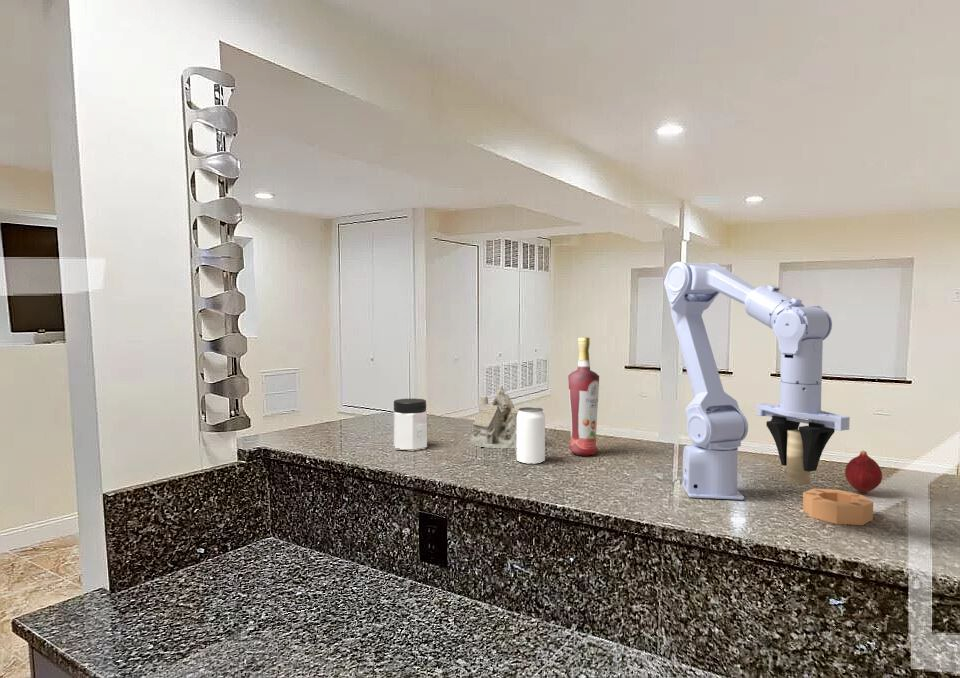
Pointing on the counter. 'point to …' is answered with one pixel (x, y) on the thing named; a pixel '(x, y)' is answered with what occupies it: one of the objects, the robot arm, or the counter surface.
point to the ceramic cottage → (496, 423)
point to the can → (530, 435)
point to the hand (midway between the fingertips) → (798, 467)
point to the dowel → (795, 459)
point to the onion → (863, 473)
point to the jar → (410, 423)
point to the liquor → (583, 403)
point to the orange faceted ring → (838, 506)
